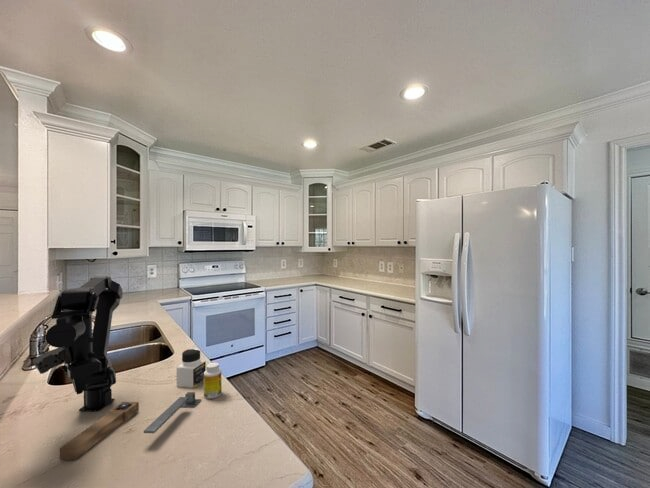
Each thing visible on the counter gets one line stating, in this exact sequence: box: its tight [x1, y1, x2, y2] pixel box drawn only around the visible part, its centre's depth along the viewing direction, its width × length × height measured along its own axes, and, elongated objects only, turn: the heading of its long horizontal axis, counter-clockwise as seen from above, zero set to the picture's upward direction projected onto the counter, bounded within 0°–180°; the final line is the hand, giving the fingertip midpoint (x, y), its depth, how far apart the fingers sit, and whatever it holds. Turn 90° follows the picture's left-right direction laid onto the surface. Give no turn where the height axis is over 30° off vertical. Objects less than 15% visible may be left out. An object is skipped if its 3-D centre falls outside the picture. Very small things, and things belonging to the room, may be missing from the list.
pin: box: [118, 401, 129, 410], centre depth 83 cm, size 3×3×4 cm
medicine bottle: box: [176, 347, 207, 389], centre depth 103 cm, size 7×7×12 cm
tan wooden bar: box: [58, 401, 140, 461], centre depth 76 cm, size 20×5×3 cm, turn 176°
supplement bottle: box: [203, 362, 223, 400], centre depth 95 cm, size 6×6×10 cm
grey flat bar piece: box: [143, 391, 202, 434], centre depth 81 cm, size 5×21×4 cm, turn 176°
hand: (78, 392), depth 76 cm, fingers closed
